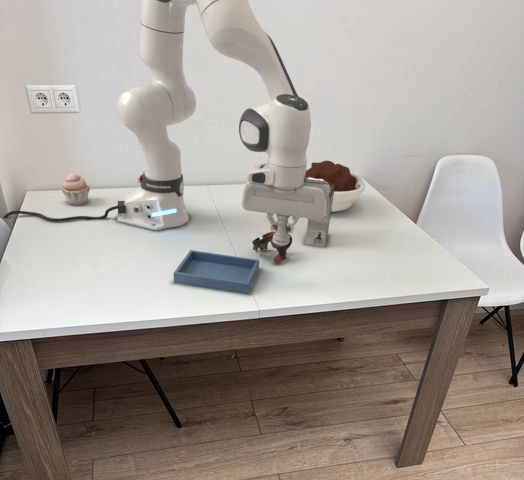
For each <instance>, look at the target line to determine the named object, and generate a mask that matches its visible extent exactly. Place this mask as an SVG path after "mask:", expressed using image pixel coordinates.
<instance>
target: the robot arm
mask: <svg viewBox="0 0 524 480" xmlns="http://www.w3.org/2000/svg"><path fill="white" fill-rule="evenodd" d="M192 5H193V6H194V5H196V6H197V9H198V13H199V16H200V20H201V22H202V25H203V26H202V27H203V29H204V31H205V34H206V37H207V39H208V40H209V42H210V44H211V45H212V47H213V48H214V49H215V50H216V51H217V52H218V53H219V54H221V55H223V56H225V57H226V58H230V59H234V60H236V61H239V62H241V63H243V64H246V66H249V67H251V68H252V69H253V70H255V71H256V72H257V73H258V74H259V76H260V77H261V80H262V81H263V83H264V86H265V88H266V90H267V92H268V95H269V97H270V99H271V101H269V102H267V103H264V104H261V105H256V106H251V107H250V108H246V109H245V110H244V111H243V112H242V114H241V116H240V119H239V124H238V135H239V138H240V141H241V143H242V144H243V146H244V147H245V148H246V149H247V150H249V151H250V152H255V153H266V154H267V155H268V158H267V162H264V163H260V164H255V165H253V166H252V167H251V168H250V169H249V171H248V174H247V181H246V183H245V185H244V187H243V189H242V190H243V191H242V196H241V207H242V209H244V211H247V212H255V213H264V214H266V219H267V220H268V223H269V224H270V227H269V229H270V231H275V232H276V230H277V225H278V222H277V221H275V219H274V217H273V216H274V215H277V214H278V215H286V216H290V217H292V222H291V223H289V222H288V223H287V232H288V233H289V234H293V233H294V229H295V226H296V225H297V223H298V222H299V220H300V218H303V219H308V218H309V219H317V220H321V219H322V218H323V217H324V216H325V212H326V198H327V197H328V196H329V192H330V185H329V184H328V182H326V181H324V179H316V178H311V177H306V176H305V175H306V169H307V164H308V159H307V151H308V147H309V145H310V135H311V127H312V119H311V108H310V105H309V103H308V101H307V100H305V99H304V98H303V97H300V96H299V95H298V93H297V90H296V88H295V86H294V84H293V81H292V79H291V78H290V75H289V73H288V71H287V68H286V66H285V63H284V62H283V59H282V57H281V54H280V52H279V51H278V49H277V46H276V44H275V43H274V41H273V39H272V37H271V36H270V35H269V34H268V33H267V32H266V31H265V30H264V29H263V27H262V26H261V24H260V23H259V22H258V19H257V17H256V16H255V14H254V12H253V10H252V7H251V5H250V3H249V0H141V5H140V19H139V20H140V21H139V56H140V59H141V61H142V62H143V63H144V64H145V65H146V67H148V68H150V71H151V72H150V73H151V78H152V81H151V84H146V85H140V86H134V87H132V88H130V89H128V90H126V91H124V92H122V93H121V94H120V95H119V97H118V100H117V113H118V118H119V119H120V121H121V123H122V124H123V125H124V126H125V128H127V129H128V130H130V131H131V132H132V134H134V136H135V137H136V139H137V141H138V143H139V146H140V149H141V154H142V161H143V170H144V171H143V172H142V174H140V175H139V177H138V178H137V183H138V184H139V183H140V184H139V186H138V187H137V188H135V189H134V190H133V191H132V192H130V193H129V194H128V195H127V196H126V198H125V200H117V205H116V206H111V207H109V208H107V209H106V210H105V211H104V214H103V215H101V216H87V215H77V216H68V217H60V218H55V217H54V218H53V217H49V216H47V215H44V214H42V213H39V212H35V211H25V210H11V211H9V212H7V213H6V214H4V215H3V216H2V218H3V219H7V218H8V217H10V216H12V215H28V216H34V217H35V216H36V217H38V218H41V219H43V220H46V221H48V222H67V221H74V220H91V221H92V220H93V221H94V220H104V219H106V218H107V217H108V215H109V213H110V212H112V211H114V210H117V216H116V217H117V218H116V219H117V222H120V223H123V224H127V225H131V226H136V227H140V228H143V229H147V230H152V231H162V230H165V229H169V228H177V227H180V226H183V225H185V224H186V223H188V222H189V219H190V218H189V215H188V212H187V207H186V204H185V197H184V193H185V182H184V175H183V173H182V158H181V156H182V154H181V150H180V147H179V145H177V144H176V143H175V142H174V141H172V140H171V139H170V136H169V134H168V126H173V125H176V124H180V123H183V122H184V121H186V120H187V119H189V118H191V117H192V116H193V115H194V114H195V112H196V109H197V99H196V95H195V93H194V91H193V89H192V88H191V86H190V85H189V84H188V83H187V80H186V77H185V71H184V63H183V62H184V61H183V59H184V42H185V41H184V40H185V39H184V38H185V25H186V12H187V9H188V7H189V6H192ZM324 183H326V184H324Z"/></svg>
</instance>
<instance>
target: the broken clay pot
mask: <svg viewBox="0 0 524 480" xmlns="http://www.w3.org/2000/svg"><path fill="white" fill-rule="evenodd" d="M275 232H276V231H273V230H271V231H269V232H267V233H264V234H263V235H262V236H261V237H262V238H260V236H257V237H256V238H255V239H253V240H252V242H251V244H252V250H253V251H255V253H258V251H259V250H260V251H265V250H268V249H269V247H268V245H269V243H270V245H271V247H272V248H273V249H276V250H277V252H278V254H276V255H275V256H274V257H273V261H274V263H275V265H279V264H280V263H282V262H283V261H286V260H287V250H288V249H289V248H290V247H291V245H292V244H293V237H292V235H291V233H289V236H290V239H289V240H290V242H289V243H288V244H287V245H284V246H280V245H276V244H274V242H273V241H272V240H273V235H274V234H275Z"/></svg>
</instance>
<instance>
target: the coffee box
mask: <svg viewBox="0 0 524 480" xmlns="http://www.w3.org/2000/svg"><path fill="white" fill-rule="evenodd" d="M334 189H335V185H330V192H329V196H328V197H327V198H326V212H325V216H324V217H323V218H322V219H321V220H317V219H309V218H307V222H306V231H305V238H304V239H305V241H304V244H305V245H308V246H314V247H322V248H324V247H326V244H327V240H328V236H329V230H330V229H329V228H330V223H331V215H332V212H331V209H332V203H333V195H334Z"/></svg>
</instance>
